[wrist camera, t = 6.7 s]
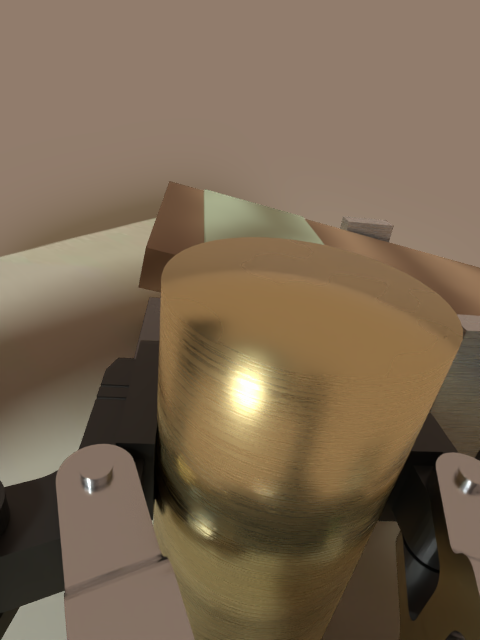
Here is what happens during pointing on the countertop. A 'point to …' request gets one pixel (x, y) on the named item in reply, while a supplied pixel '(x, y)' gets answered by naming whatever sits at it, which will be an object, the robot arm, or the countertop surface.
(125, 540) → the robot arm
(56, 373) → the countertop surface
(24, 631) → the countertop surface
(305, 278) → the cylinder
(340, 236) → the plank
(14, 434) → the countertop surface
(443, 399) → the pivot stand
